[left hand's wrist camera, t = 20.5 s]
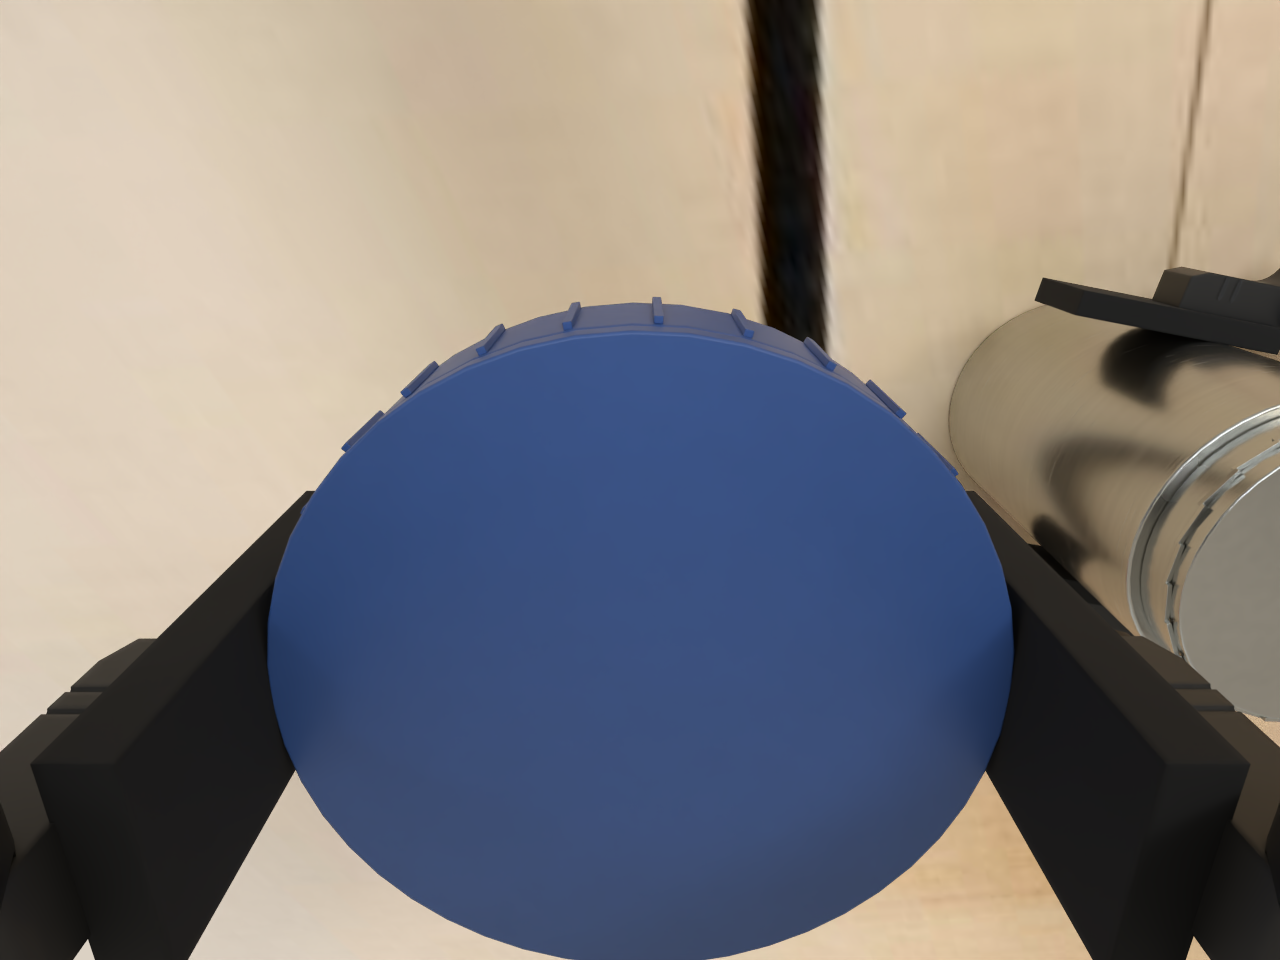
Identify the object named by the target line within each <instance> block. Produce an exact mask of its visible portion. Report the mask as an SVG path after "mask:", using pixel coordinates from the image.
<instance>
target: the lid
mask: <svg viewBox="0 0 1280 960" xmlns="http://www.w3.org/2000/svg"><path fill="white" fill-rule="evenodd" d="M401 394H402V395H403V397H402V398H401V399H399V400H398V401H397V402H396V403H395V404H394V405H393V406H392V407H391V408H390V409H389V410H388V411H387V412H386V413H385V414H384V413H383V412H382V411H379V412H378V413H377V414H375V415H374V416H373V417H372V418H371V419H370V420H369V421H368V422H367V423H366V424H365V425H364V426H363V427H362V428H361V429H360V430H359V431H358V432H357V433H356V434H354V435H353V436H352V437H351V438H350V439H349V440H348V441H347V442H346V443H345V444H344V445H343V447H342V448H341V449H342V450H343V451H345V452H346V453H345V454H343V455H342V456H341V458H340V459H339V460H338V462H337V463H336V464H335V465H334V467H333V468H332V469H331V471H330V472H329V473H328V475H327V476H326V477H325V479H324V480H323V481H322V483H321V484H320V485H319V487H318V488H317V489H316V491H315V492H314V493H313V495H312V496H311V498H310V500H309V502H308V503H307V504H306V505H305V506H304V507H303V508H302V511H301V513H300V514H302V515H301V517H300V519H299V520H298V522H297V524H296V526H295V528H294V530H293V532H292V533H291V535H290V538H289V540H288V543H287V546H286V549H285V552H284V555H283V558H282V561H281V564H280V566H279V569H278V572H277V575H276V578H275V583H274V589H273V594H272V600H271V606H270V611H269V617H268V636H267V668H268V675H269V682H270V688H271V693H272V699H273V704H274V709H275V714H276V718H277V722H278V725H279V729H280V732H281V735H282V739H283V742H284V745H285V747H286V750H287V752H288V754H289V756H290V758H291V760H292V763H293V765H294V767H295V769H296V771H297V773H298V776H299V778H300V780H301V782H302V784H303V785H304V787H305V788H306V790H307V791H308V793H309V795H310V796H311V798H312V799H313V801H314V802H315V804H316V806H317V807H318V809H319V810H320V812H321V813H322V815H323V816H324V817H325V819H326V820H327V821H328V822H329V823H330V825H331V826H332V827H333V828H334V829H335V831H336V832H337V833H338V834H339V835H340V837H341V838H342V839H343V840H344V841H345V843H346V844H347V845H348V846H349V847H350V848H351V849H352V850H353V851H354V852H355V853H356V854H357V855H358V856H359V857H360V858H362V859H363V860H364V861H365V862H366V863H367V864H368V865H369V866H370V867H371V868H372V869H373V870H374V871H375V872H377V873H378V874H379V875H380V876H381V877H383V878H384V879H385V880H387V881H388V882H389V883H391V884H392V885H394V886H395V887H396V888H398V889H399V890H400V891H402V892H403V893H404V894H406V895H407V896H408V897H410V898H411V899H413V900H414V901H416V902H418V903H420V904H421V905H423V906H425V907H427V908H428V909H430V910H432V911H433V912H435V913H437V914H439V915H440V916H442V917H444V918H445V919H447V920H449V921H452V922H454V923H456V924H458V925H461V926H463V927H465V928H467V929H469V930H472V931H474V932H476V933H478V934H481V935H483V936H485V937H488V938H491V939H494V940H497V941H500V942H503V943H506V944H509V945H512V946H515V947H518V948H521V949H525V950H529V951H534V952H538V953H542V954H547V955H551V956H556V957H560V958H565V959H572V960H708V959H714V958H720V957H727V956H731V955H735V954H739V953H743V952H747V951H751V950H755V949H759V948H763V947H766V946H770V945H773V944H775V943H778V942H781V941H784V940H786V939H789V938H792V937H795V936H797V935H800V934H803V933H805V932H808V931H810V930H812V929H814V928H816V927H818V926H820V925H822V924H825V923H827V922H829V921H831V920H833V919H835V918H837V917H839V916H841V915H843V914H845V913H847V912H848V911H850V910H851V909H853V908H855V907H856V906H858V905H859V904H861V903H863V902H864V901H866V900H867V899H869V898H871V897H872V896H874V895H875V894H877V893H879V892H880V891H881V890H883V889H884V888H885V887H886V886H888V885H889V884H890V883H891V882H893V881H894V880H895V879H896V878H898V877H899V876H900V875H902V874H903V873H904V872H905V871H907V870H908V869H909V868H910V867H912V866H913V865H914V864H915V863H916V862H917V861H918V860H919V859H920V858H921V857H922V856H923V855H924V854H925V853H926V851H927V850H928V849H929V848H930V847H931V846H932V845H933V844H934V843H935V842H936V841H937V840H938V839H939V838H940V837H941V836H942V835H943V833H944V832H945V831H946V830H947V828H948V827H949V826H950V824H951V823H952V822H953V821H954V819H955V818H956V817H957V815H958V814H959V813H960V811H961V810H962V809H963V808H964V806H965V805H966V803H967V801H968V800H969V798H970V796H971V794H972V793H973V791H974V789H975V788H976V786H977V784H978V782H979V781H980V779H981V777H982V776H983V774H984V772H985V770H986V768H987V765H988V763H989V760H990V758H991V756H992V753H993V751H994V748H995V746H996V743H997V741H998V739H999V736H1000V734H1001V730H1002V726H1003V722H1004V718H1005V713H1006V708H1007V703H1008V698H1009V693H1010V687H1011V682H1012V671H1013V661H1014V639H1013V624H1012V608H1011V604H1010V600H1009V595H1008V591H1007V586H1006V582H1005V578H1004V573H1003V569H1002V565H1001V563H1000V560H999V558H998V555H997V553H996V550H995V548H994V545H993V543H992V540H991V538H990V535H989V533H988V530H987V528H986V525H985V523H984V522H983V520H982V518H981V516H980V515H979V513H978V511H977V510H976V508H975V506H974V505H973V503H972V501H971V500H970V498H969V496H968V495H967V493H966V491H965V490H964V488H963V486H962V485H961V483H960V482H959V481H958V480H957V478H956V477H955V476H956V475H958V472H957V471H956V469H955V468H954V467H953V466H952V465H951V464H950V463H949V462H948V461H947V460H946V459H945V458H944V457H943V456H942V455H941V454H940V453H939V452H938V451H937V450H935V449H934V448H933V447H932V446H931V445H930V444H929V443H928V442H927V441H926V440H925V439H924V438H923V437H922V436H921V435H920V434H919V433H916V432H915V431H914V430H913V429H912V428H911V427H910V426H909V425H908V424H907V423H906V422H905V421H904V420H903V419H902V418H903V417H904V416H905V415H906V413H905V412H904V411H903V410H902V409H901V408H900V407H899V406H898V405H897V404H896V403H895V402H894V401H893V400H892V399H891V398H890V397H888V396H887V395H886V394H885V393H884V392H883V391H882V390H881V389H880V388H879V387H878V386H877V385H876V384H875V383H874V382H872V381H871V380H869V381H868V382H867V383H866V384H864V383H863V382H862V381H861V380H860V379H858V378H857V377H856V376H855V375H854V374H853V373H852V372H850V371H849V370H847V369H846V368H844V367H843V366H841V365H840V364H838V363H837V362H835V361H834V360H832V359H831V358H830V357H829V356H828V355H827V354H826V353H825V352H824V351H823V350H822V349H821V348H820V347H819V346H818V344H817V343H816V342H815V341H814V340H812V339H810V338H808V337H807V338H806V339H805V341H804V343H803V342H801V341H799V340H797V339H795V338H793V337H791V336H789V335H787V334H785V333H783V332H781V331H778V330H776V329H774V328H772V327H769V326H766V325H762V324H759V323H756V322H753V321H750V320H747V319H746V318H745V317H744V315H743V314H742V312H741V311H740V310H737V309H733V310H732V313H731V314H728V313H723V312H717V311H712V310H706V309H701V308H695V307H690V306H684V305H671V304H662V301H661V297H653V298H652V304H650V303H624V304H613V305H601V306H589V307H582V308H581V306H580V302H576V303H572V304H571V306H570V308H569V310H568V311H564V312H560V313H555V314H551V315H546V316H542V317H538V318H535V319H532V320H530V321H527V322H524V323H522V324H519V325H516V326H513V327H511V328H508V329H505V328H504V326H503V324H500V325H498V326H496V327H495V328H494V329H493V330H492V331H491V332H490V333H489V335H488V336H487V337H486V338H485V339H483V340H481V341H479V342H478V343H476V344H474V345H472V346H470V347H468V348H466V349H465V350H463V351H461V352H459V353H457V354H455V355H453V356H452V357H451V358H449V359H448V360H447V361H445V362H444V363H443V364H441V365H440V366H438V364H437V363H436V362H435V361H433V362H432V363H431V364H429V365H428V366H427V367H426V368H425V369H424V370H423V371H422V372H421V373H420V374H419V375H418V376H417V377H416V378H415V379H414V380H412V381H411V382H410V383H409V384H408V385H407V386H406V387H405V388H404V389H403V390H402V391H401Z"/></svg>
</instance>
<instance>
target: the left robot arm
mask: <svg viewBox="0 0 1280 960" xmlns="http://www.w3.org/2000/svg"><path fill="white" fill-rule="evenodd" d="M314 492H315V491H306V492H305V493H304V494H303V495H302V496H301V497H300V498H299V499H298V500H297V501H296V502H295V503H294V504H293V505H292V506H291V507H290V508H289V509H288V510H287V511H286V512H285V513H284V514H283V515H282V516H281V517H280V518H279V519H278V520H277V521H276V522H275V523H274V524H273V525H272V526H271V527H270V528H269V529H268V530H267V531H266V532H265V533H263V534H262V535H261V536H260V537H259V538H258V539H257V540H256V541H255V542H254V543H253V544H252V545H251V546H250V547H249V548H248V549H247V550H246V551H245V552H244V553H243V554H242V555H241V556H240V557H239V558H238V559H237V560H236V561H235V562H234V563H233V564H232V565H231V566H230V567H229V568H228V569H227V570H226V571H225V572H224V573H223V574H222V575H221V576H220V577H219V578H218V579H217V580H216V581H215V582H214V583H213V584H212V585H211V586H210V587H209V588H208V589H207V590H206V591H205V592H204V593H203V594H202V595H201V596H200V597H199V598H198V599H197V600H196V601H195V602H194V603H193V604H192V605H191V606H190V607H188V608H187V609H186V610H185V611H184V612H183V613H182V614H181V615H180V616H179V617H178V618H177V619H176V620H175V621H174V622H173V623H172V624H171V625H170V626H169V627H168V628H167V629H166V630H165V631H164V632H163V633H162V634H161V635H160V636H159V637H158V638H157V639H137V640H136V641H134V642H132V643H130V644H129V645H127V646H125V647H123V648H121V649H120V650H118V651H116V652H114V653H112V654H111V655H109V656H107V657H105V658H103V659H102V660H100V661H98V662H97V663H96V664H95V665H94V666H93V667H92V668H91V669H90V670H89V671H88V672H87V673H85V674H84V675H83V676H82V677H81V678H80V679H79V680H78V681H77V682H76V683H75V684H74V685H72V686H71V691H70V692H65V693H64V694H63V695H62V696H61V697H59V698H58V699H57V700H56V701H55V702H54V703H53V704H52V705H51V706H50V707H49V708H48V709H47V714H41V715H40V716H39V717H38V718H37V719H36V720H35V721H33V722H32V723H31V724H30V725H29V726H28V727H27V728H26V729H25V730H24V731H23V732H22V733H20V734H19V735H18V736H17V737H16V738H15V739H14V740H13V741H12V742H11V743H10V744H9V745H7V746H6V747H5V748H4V749H3V750H2V751H1V752H0V960H73V959H74V958H75V956H76V955H77V953H78V952H79V951H80V949H81V948H82V946H83V945H84V943H85V942H86V941H87V939H88V940H89V943H90V946H91V949H92V952H93V955H94V958H95V960H188V959H189V957H190V955H191V953H192V952H193V950H194V948H195V946H196V944H197V943H198V941H199V939H200V937H201V936H202V934H203V932H204V930H205V929H206V927H207V925H208V923H209V922H210V920H211V918H212V916H213V914H214V913H215V911H216V909H217V907H218V906H219V904H220V902H221V900H222V899H223V897H224V895H225V893H226V892H227V890H228V888H229V886H230V884H231V883H232V881H233V879H234V877H235V876H236V874H237V872H238V870H239V869H240V867H241V865H242V863H243V862H244V860H245V858H246V856H247V854H248V853H249V851H250V849H251V847H252V846H253V844H254V842H255V840H256V839H257V837H258V835H259V833H260V832H261V830H262V828H263V826H264V824H265V823H266V821H267V819H268V817H269V816H270V814H271V812H272V810H273V809H274V807H275V805H276V803H277V802H278V800H279V798H280V796H281V794H282V793H283V791H284V789H285V787H286V786H287V784H288V782H289V780H290V779H291V777H292V775H293V773H294V772H295V770H296V769H295V767H294V765H293V763H292V760H291V758H290V756H289V754H288V752H287V750H286V747H285V745H284V742H283V739H282V735H281V732H280V729H279V725H278V722H277V718H276V714H275V709H274V704H273V699H272V693H271V688H270V682H269V675H268V668H267V636H268V617H269V611H270V606H271V600H272V594H273V589H274V583H275V578H276V575H277V572H278V569H279V566H280V564H281V561H282V558H283V555H284V552H285V549H286V546H287V543H288V540H289V538H290V535H291V533H292V532H293V530H294V528H295V526H296V524H297V522H298V520H299V519H300V517H301V515H302V514H300V513H301V511H302V508H303V507H304V506H305V505H306V504H307V503H308V502H309V500H310V498H311V496H312V495H313V493H314ZM966 493H967V495H968V496H969V498H970V500H971V501H972V503H973V505H974V506H975V508H976V510H977V511H978V513H979V515H980V516H981V518H982V520H983V522H984V523H985V525H986V528H987V530H988V533H989V535H990V538H991V540H992V543H993V545H994V548H995V550H996V553H997V555H998V558H999V560H1000V563H1001V565H1002V569H1003V573H1004V578H1005V582H1006V586H1007V591H1008V595H1009V600H1010V604H1011V608H1012V624H1013V639H1014V661H1013V671H1012V682H1011V687H1010V693H1009V698H1008V703H1007V708H1006V713H1005V718H1004V722H1003V726H1002V730H1001V734H1000V736H999V739H998V741H997V743H996V746H995V748H994V751H993V753H992V756H991V758H990V760H989V763H988V765H987V768H986V770H985V771H986V772H987V774H988V776H989V778H990V779H991V781H992V783H993V785H994V786H995V788H996V790H997V792H998V794H999V795H1000V797H1001V799H1002V801H1003V802H1004V804H1005V806H1006V808H1007V809H1008V811H1009V813H1010V815H1011V816H1012V818H1013V820H1014V822H1015V824H1016V825H1017V827H1018V829H1019V831H1020V832H1021V834H1022V836H1023V838H1024V839H1025V841H1026V843H1027V845H1028V846H1029V848H1030V850H1031V852H1032V854H1033V855H1034V857H1035V859H1036V861H1037V862H1038V864H1039V866H1040V868H1041V869H1042V871H1043V873H1044V875H1045V876H1046V878H1047V880H1048V882H1049V884H1050V885H1051V887H1052V889H1053V891H1054V892H1055V894H1056V896H1057V898H1058V899H1059V901H1060V903H1061V905H1062V906H1063V908H1064V910H1065V912H1066V913H1067V915H1068V917H1069V919H1070V921H1071V922H1072V924H1073V926H1074V928H1075V929H1076V931H1077V933H1078V935H1079V936H1080V938H1081V940H1082V942H1083V943H1084V945H1085V947H1086V949H1087V951H1088V952H1089V954H1090V956H1091V958H1092V959H1093V960H1186V957H1187V954H1188V951H1189V948H1190V945H1191V942H1192V939H1193V936H1194V937H1195V938H1196V940H1197V941H1198V943H1199V944H1200V945H1201V947H1202V948H1203V950H1204V951H1205V952H1206V954H1207V955H1208V957H1209V958H1210V959H1211V960H1280V747H1279V746H1278V745H1277V744H1275V743H1274V742H1273V741H1272V740H1271V739H1270V738H1269V737H1268V736H1267V735H1266V734H1265V733H1263V732H1262V731H1261V730H1260V729H1259V728H1258V727H1257V726H1256V725H1255V724H1254V723H1253V722H1251V721H1250V720H1249V719H1248V718H1247V717H1246V716H1245V715H1244V714H1243V713H1242V712H1236V711H1235V709H1234V705H1233V704H1232V703H1231V702H1230V701H1229V700H1227V699H1226V698H1225V697H1224V696H1223V695H1222V694H1221V693H1220V692H1219V691H1218V690H1217V689H1211V684H1210V683H1209V682H1208V681H1207V680H1206V679H1204V678H1203V677H1202V676H1201V675H1200V674H1199V673H1198V672H1197V671H1196V670H1195V669H1194V668H1192V667H1191V666H1190V665H1189V664H1188V663H1187V662H1186V661H1185V660H1184V659H1183V658H1181V657H1179V656H1177V655H1176V654H1174V653H1172V652H1170V651H1168V650H1167V649H1165V648H1163V647H1161V646H1159V645H1158V644H1156V643H1154V642H1152V641H1150V640H1149V639H1147V638H1145V637H1143V636H1120V635H1119V634H1118V633H1117V632H1116V631H1115V630H1114V629H1113V628H1112V627H1111V626H1110V625H1109V624H1108V623H1107V622H1106V621H1105V620H1104V619H1103V618H1102V617H1101V616H1100V615H1099V614H1098V613H1097V612H1096V611H1095V610H1094V609H1093V608H1092V607H1091V606H1090V605H1089V604H1088V603H1087V602H1086V601H1085V600H1084V599H1083V598H1082V597H1081V596H1080V595H1079V594H1078V593H1077V592H1076V591H1075V590H1074V589H1073V588H1072V587H1071V586H1070V585H1069V584H1068V583H1067V582H1066V581H1065V580H1064V579H1063V578H1062V577H1061V576H1060V575H1059V574H1058V573H1057V572H1056V571H1055V570H1054V569H1053V568H1052V567H1051V566H1050V565H1049V564H1047V563H1046V562H1045V561H1044V560H1043V559H1042V558H1041V557H1040V556H1039V555H1038V554H1037V553H1036V552H1035V551H1034V550H1033V549H1032V548H1031V547H1030V546H1029V545H1028V544H1027V543H1026V542H1025V541H1024V540H1023V539H1022V538H1021V537H1020V536H1019V535H1018V534H1017V533H1016V532H1015V531H1014V530H1013V529H1012V528H1011V527H1010V526H1009V525H1008V524H1007V523H1006V522H1005V521H1004V520H1003V519H1002V518H1001V517H1000V516H999V515H998V514H997V513H996V512H995V511H994V510H993V509H992V508H991V507H990V506H989V505H988V504H987V503H986V502H985V501H984V500H983V499H982V498H981V497H980V496H979V495H978V494H977V493H976V492H974V491H966Z"/></svg>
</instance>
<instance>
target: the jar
mask: <svg viewBox="0 0 1280 960" xmlns="http://www.w3.org/2000/svg"><path fill="white" fill-rule="evenodd" d="M949 429H950V437H951V441H952V445H953V448H954V451H955V454H956V456H957V458H958V460H959V462H960V464H961V465H962V467H963V468H964V470H965V471H966V472H967V474H968V475H969V476H970V477H971V478H972V479H973V480H974V481H975V482H976V483H977V484H978V485H979V486H980V487H981V488H982V489H983V490H984V491H985V492H986V493H987V494H988V495H989V496H990V497H991V498H992V499H993V500H994V501H995V502H997V503H998V504H999V505H1000V506H1001V507H1002V508H1003V509H1004V510H1005V511H1006V512H1007V513H1008V514H1009V515H1010V516H1011V517H1012V518H1013V519H1014V520H1015V521H1016V522H1017V523H1018V524H1019V525H1020V526H1021V527H1022V528H1023V529H1024V530H1025V531H1027V532H1028V533H1029V534H1030V535H1031V536H1032V537H1033V538H1034V539H1035V540H1036V541H1037V542H1038V543H1039V544H1040V545H1041V546H1042V547H1043V548H1044V549H1045V550H1046V551H1047V552H1048V553H1049V554H1050V555H1051V556H1052V557H1053V558H1054V559H1055V560H1057V561H1058V562H1059V563H1060V564H1061V565H1062V566H1063V567H1064V568H1065V569H1066V570H1067V571H1068V572H1069V573H1070V574H1071V575H1072V576H1073V577H1074V578H1075V579H1076V580H1077V581H1078V582H1079V583H1080V584H1081V585H1082V586H1083V587H1084V588H1085V589H1087V590H1088V591H1089V592H1090V593H1091V594H1092V595H1093V596H1094V597H1095V598H1096V599H1097V600H1098V601H1099V602H1100V603H1101V604H1102V605H1103V606H1104V607H1105V608H1106V609H1107V610H1108V611H1109V612H1110V613H1111V614H1112V615H1113V616H1114V617H1115V618H1117V619H1118V620H1119V621H1120V622H1121V623H1122V624H1123V625H1124V626H1125V627H1126V628H1127V629H1128V630H1129V631H1130V632H1131V633H1132V634H1133V635H1134V636H1143V637H1145V638H1147V639H1149V640H1150V641H1152V642H1154V643H1156V644H1158V645H1159V646H1161V647H1163V648H1165V649H1167V650H1168V651H1170V652H1172V653H1174V654H1176V655H1177V656H1179V657H1181V658H1183V659H1184V660H1185V661H1186V662H1187V663H1188V664H1189V665H1190V666H1191V667H1192V668H1194V669H1195V670H1196V671H1197V672H1198V673H1199V674H1200V675H1201V676H1202V677H1203V678H1204V679H1206V680H1207V681H1208V682H1209V683H1210V684H1211V689H1217V690H1218V691H1219V692H1220V693H1221V694H1222V695H1223V696H1224V697H1225V698H1226V699H1227V700H1229V701H1230V702H1231V703H1232V704H1233V705H1234V709H1235V711H1239V712H1242V713H1245V714H1249V715H1252V716H1256V717H1259V718H1262V719H1263V720H1264V721H1276V722H1280V362H1279V361H1276V360H1273V359H1270V358H1267V357H1264V356H1261V355H1257V354H1254V353H1251V352H1248V351H1245V350H1242V349H1239V348H1236V347H1233V346H1229V345H1225V344H1220V343H1215V342H1210V341H1204V340H1199V339H1194V338H1189V337H1184V336H1179V335H1174V334H1169V333H1163V332H1158V331H1153V330H1148V329H1143V328H1138V327H1133V326H1127V325H1122V324H1117V323H1112V322H1107V321H1102V320H1097V319H1092V318H1086V317H1081V316H1076V315H1073V314H1070V313H1068V312H1065V311H1062V310H1059V309H1057V308H1054V307H1051V306H1048V305H1045V306H1041V307H1038V308H1035V309H1033V310H1030V311H1027V312H1025V313H1023V314H1021V315H1019V316H1017V317H1015V318H1013V319H1012V320H1010V321H1009V322H1007V323H1006V324H1004V325H1003V326H1001V327H1000V328H998V329H997V330H996V331H995V332H994V333H993V334H991V335H990V336H989V337H988V338H987V339H986V340H985V341H984V342H983V343H982V344H981V345H980V346H979V347H978V348H977V350H976V351H975V352H974V354H973V355H972V356H971V358H970V359H969V360H968V362H967V364H966V365H965V367H964V369H963V370H962V372H961V374H960V376H959V379H958V381H957V383H956V386H955V389H954V392H953V396H952V399H951V406H950V412H949Z"/></svg>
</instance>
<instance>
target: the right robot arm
mask: <svg viewBox="0 0 1280 960" xmlns="http://www.w3.org/2000/svg"><path fill="white" fill-rule="evenodd" d="M1035 301H1037V302H1040V303H1043V304H1046V305H1048V306H1051V307H1054V308H1057V309H1059V310H1062V311H1065V312H1068V313H1070V314H1073V315H1076V316H1081V317H1086V318H1092V319H1097V320H1102V321H1107V322H1112V323H1117V324H1122V325H1127V326H1133V327H1138V328H1143V329H1148V330H1153V331H1158V332H1163V333H1169V334H1174V335H1179V336H1184V337H1189V338H1194V339H1199V340H1204V341H1210V342H1215V343H1220V344H1225V345H1230V346H1235V347H1240V348H1245V349H1251V350H1256V351H1261V352H1266V353H1271V354H1276V355H1277V354H1278V352H1279V350H1280V269H1279V270H1277V271H1276V272H1275V273H1274V274H1273V275H1271V276H1270V277H1268V278H1266V279H1263V280H1259V281H1250V280H1245V279H1240V278H1235V277H1230V276H1225V275H1220V274H1215V273H1210V272H1205V271H1200V270H1195V269H1190V268H1185V267H1179V268H1173V269H1168V270H1164V272H1163V275H1162V277H1161V280H1160V282H1159V285H1158V287H1157V289H1156V292H1155V294H1154V297H1153V299H1148V298H1143V297H1138V296H1133V295H1128V294H1123V293H1118V292H1113V291H1108V290H1103V289H1098V288H1093V287H1088V286H1083V285H1078V284H1072V283H1067V282H1062V281H1057V280H1052V279H1047V278H1043V279H1042V281H1041V284H1040V287H1039V290H1038V293H1037V295H1036V298H1035ZM1028 545H1029V546H1030V547H1031V548H1032V549H1033V550H1034V551H1035V552H1036V553H1037V554H1038V555H1039V556H1040V557H1041V558H1042V559H1043V560H1044V561H1045V562H1046V563H1047V564H1049V565H1050V566H1051V567H1052V568H1053V569H1054V570H1055V571H1056V572H1057V573H1058V574H1059V575H1060V576H1061V577H1062V578H1063V579H1064V580H1065V581H1066V582H1067V583H1068V584H1069V585H1070V586H1071V587H1072V588H1073V589H1074V590H1075V591H1076V592H1077V593H1078V594H1079V595H1080V596H1081V597H1082V598H1083V599H1084V600H1085V601H1086V602H1087V603H1088V604H1089V605H1090V606H1091V607H1092V608H1093V609H1094V610H1095V611H1096V612H1097V613H1098V614H1099V615H1100V616H1101V617H1102V618H1103V619H1104V620H1105V621H1106V622H1107V623H1108V624H1109V625H1110V626H1111V627H1112V628H1113V629H1114V630H1115V631H1116V632H1117V633H1118V634H1119V635H1120V636H1134V635H1133V634H1132V633H1131V632H1130V631H1129V630H1128V629H1127V628H1126V627H1125V626H1124V625H1123V624H1122V623H1121V622H1120V621H1119V620H1118V619H1117V618H1115V617H1114V616H1113V615H1112V614H1111V613H1110V612H1109V611H1108V610H1107V609H1106V608H1105V607H1104V606H1103V605H1102V604H1101V603H1100V602H1099V601H1098V600H1097V599H1096V598H1095V597H1094V596H1093V595H1092V594H1091V593H1090V592H1089V591H1088V590H1087V589H1085V588H1084V587H1083V586H1082V585H1081V584H1080V583H1079V582H1078V581H1077V580H1076V579H1075V578H1074V577H1073V576H1072V575H1071V574H1070V573H1069V572H1068V571H1067V570H1066V569H1065V568H1064V567H1063V566H1062V565H1061V564H1060V563H1059V562H1058V561H1057V560H1055V559H1054V558H1053V557H1052V556H1051V555H1050V554H1049V553H1048V552H1047V551H1046V550H1045V549H1044V548H1043V547H1042V546H1038V545H1032V544H1028Z"/></svg>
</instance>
